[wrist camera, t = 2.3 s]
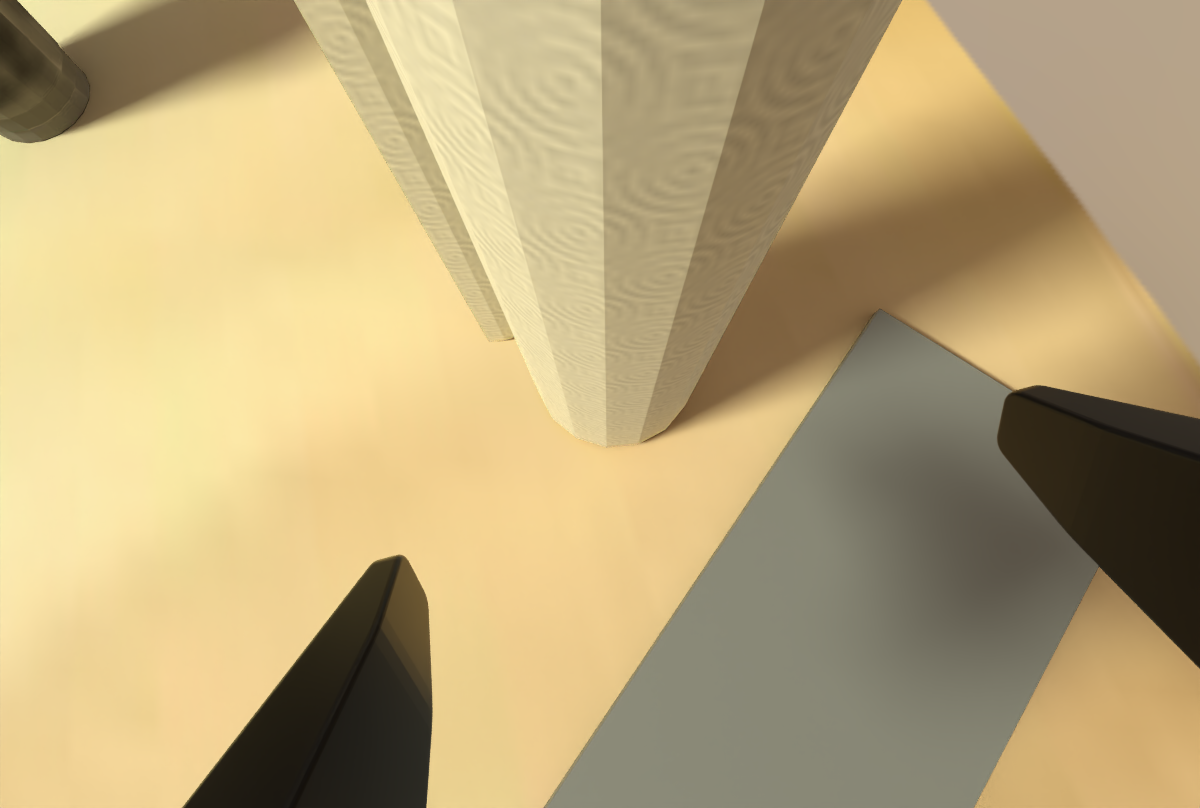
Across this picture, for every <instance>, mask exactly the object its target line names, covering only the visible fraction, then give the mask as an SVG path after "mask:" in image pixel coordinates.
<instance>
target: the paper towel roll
mask: <svg viewBox="0 0 1200 808" xmlns="http://www.w3.org/2000/svg"><path fill="white" fill-rule="evenodd" d="M901 1H902V0H294V2H295V4H296V6H297V7H298V9H299V11H300V13H301V14H302V16H303V18H304V20H305V21H306V23H307V25H308V27H309V28H310V30H311V32H312V34H313V35H314V37H315V39H316V41H317V42H318V44H319V46H320V48H321V49H322V51H323V53H324V54H325V56H326V58H327V60H328V61H329V63H330V65H331V67H332V68H333V70H334V72H335V74H336V75H337V77H338V79H339V81H340V82H341V84H342V86H343V88H344V89H345V91H346V93H347V95H348V96H349V98H350V100H351V102H352V103H353V105H354V107H355V109H356V110H357V112H358V114H359V116H360V117H361V119H362V121H363V123H364V124H365V126H366V128H367V130H368V131H369V133H370V135H371V137H372V138H373V140H374V142H375V144H376V145H377V147H378V149H379V151H380V152H381V154H382V156H383V158H384V159H385V161H386V163H387V165H388V166H389V168H390V170H391V172H392V173H393V175H394V177H395V179H396V180H397V182H398V184H399V185H400V187H401V189H402V191H403V192H404V194H405V196H406V198H407V199H408V201H409V203H410V205H411V206H412V208H413V210H414V212H415V213H416V215H417V217H418V219H419V220H420V222H421V224H422V226H423V227H424V229H425V231H426V233H427V234H428V236H429V238H430V240H431V241H432V243H433V245H434V247H435V248H436V250H437V252H438V254H439V255H440V257H441V259H442V261H443V262H444V264H445V266H446V268H447V269H448V271H449V273H450V275H451V276H452V278H453V280H454V282H455V283H456V285H457V287H458V289H459V290H460V292H461V294H462V296H463V297H464V299H465V301H466V303H467V304H468V306H469V308H470V310H471V311H472V313H473V315H474V316H475V318H476V320H477V322H478V323H479V325H480V327H481V329H482V330H483V332H484V334H485V336H486V337H487V339H488V341H503V340H508V339H511V338H513V337H514V338H515V340H516V342H517V344H518V347H519V349H520V351H521V354H522V356H523V358H524V360H525V363H526V365H527V367H528V369H529V372H530V374H531V376H532V378H533V381H534V383H535V385H536V388H537V390H538V392H539V394H540V396H541V398H542V400H543V402H544V404H545V405H546V407H547V409H548V411H549V413H550V415H551V417H552V419H553V420H555V421H556V422H557V423H558V424H560V425H561V426H562V427H563V428H564V429H566V430H567V431H568V432H569V433H571V434H572V435H573V436H574V437H575V438H577V439H581V440H584V441H587V442H591V443H594V444H597V445H601V446H604V447H615V446H625V445H635V444H639V443H641V442H643V441H645V440H647V439H649V438H651V437H653V436H654V435H656V434H658V433H660V432H662V431H664V430H666V429H667V427H668V426H669V425H670V424H671V422H672V421H673V420H674V419H675V417H676V416H677V415H678V414H679V413H680V411H681V410H682V409H683V408H684V406H685V405H686V403H687V401H688V399H689V397H690V395H691V394H692V392H693V390H694V388H695V386H696V384H697V382H698V380H699V379H700V377H701V375H702V373H703V371H704V369H705V367H706V366H707V364H708V362H709V360H710V358H711V356H712V354H713V352H714V351H715V349H716V347H717V345H718V343H719V341H720V339H721V338H722V336H723V334H724V332H725V330H726V328H727V326H728V324H729V323H730V321H731V319H732V317H733V315H734V313H735V311H736V310H737V308H738V306H739V304H740V302H741V300H742V298H743V296H744V295H745V293H746V291H747V289H748V287H749V285H750V283H751V282H752V280H753V278H754V276H755V274H756V272H757V270H758V268H759V267H760V265H761V263H762V261H763V259H764V257H765V255H766V253H767V252H768V250H769V248H770V246H771V244H772V242H773V240H774V239H775V237H776V235H777V233H778V231H779V229H780V227H781V225H782V224H783V222H784V220H785V218H786V216H787V214H788V212H789V211H790V209H791V207H792V205H793V203H794V201H795V199H796V197H797V196H798V194H799V192H800V190H801V188H802V186H803V184H804V183H805V181H806V179H807V177H808V175H809V173H810V171H811V169H812V168H813V166H814V164H815V162H816V160H817V158H818V156H819V155H820V153H821V151H822V149H823V147H824V145H825V143H826V141H827V140H828V138H829V136H830V134H831V132H832V130H833V128H834V127H835V125H836V123H837V121H838V119H839V117H840V115H841V113H842V112H843V110H844V108H845V106H846V104H847V102H848V100H849V98H850V97H851V95H852V93H853V91H854V89H855V87H856V85H857V84H858V82H859V80H860V78H861V76H862V74H863V72H864V70H865V69H866V67H867V65H868V63H869V61H870V59H871V57H872V56H873V54H874V52H875V50H876V48H877V46H878V44H879V42H880V41H881V39H882V37H883V35H884V33H885V31H886V29H887V28H888V26H889V24H890V22H891V20H892V18H893V16H894V14H895V13H896V11H897V9H898V7H899V5H900V3H901Z"/></svg>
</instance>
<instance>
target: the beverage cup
mask: <svg viewBox="0 0 1200 808" xmlns="http://www.w3.org/2000/svg"><path fill="white" fill-rule="evenodd" d="M88 100H89V83H88V81H87V78H86V75H85V74H84V73H83V72H82V71H81V70H80V69H79V68H78V67H77V66H76V65H75V64H74V63H73V62H72V60H71V59H70V58H69V57H68V56H67V55H66V54H65V53H64V52H63V50H62V49H61V48H60V47H59V45H58V43H57V42H56V41H55V40H54V39H53V38H52V37H51V36H50V35H49V34H48V33H47V31H46V30H45V29H44V28H43V27H42V26H41V25H40V24H39V23H38V22H37V21H36V20H35V19H34V18H33V17H32V16H31V15H30V14H29V13H28V11H27V10H26V9H25V8H24V7H23V6H22V5H21V4H20V3H19V2H18V1H17V0H0V135H2V136H4V137H6V138H8V139H10V140H12V141H17V142H25V143H31V142H37V141H44V140H47V139H49V138H51V137H54V136H56V135H59V134H61V133H62V132H63V131H65V130H66V129H67V128H69V127H70V126H72V125H73V124H74V123H75V121H76V120H77V119H78V118H79V117H80V115H81V114H82V113H83V111H84V109H85V107H86V104H87V102H88Z"/></svg>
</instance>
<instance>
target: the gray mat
mask: <svg viewBox="0 0 1200 808" xmlns="http://www.w3.org/2000/svg"><path fill="white" fill-rule="evenodd" d="M1011 392H1013V391H1011V390H1010V389H1008V388H1007V387H1005V386H1003V385H1002V384H1000V383H999V382H997V381H995V380H994V379H992V378H991V377H989V376H987V375H986V374H984V373H982V372H981V371H979V370H978V369H976V368H974V367H973V366H971V365H970V364H968V363H966V362H965V361H963V360H962V359H960V358H958V357H957V356H955V355H954V354H952V353H950V352H949V351H947V350H946V349H944V348H942V347H941V346H939V345H938V344H936V343H934V342H933V341H931V340H929V339H928V338H926V337H925V336H923V335H921V334H920V333H918V332H917V331H915V330H913V329H912V328H910V327H909V326H907V325H905V324H904V323H902V322H901V321H899V320H897V319H896V318H894V317H893V316H891V315H889V314H888V313H886V312H885V311H883V310H881V309H879V310H878V311H877V312H876V313H874V315H873V316H872V318H871V319H870V321H869V322H868V324H867V325H866V327H865V328H864V330H863V331H862V333H861V334H860V336H859V337H858V339H857V340H856V342H855V343H854V345H853V346H852V348H851V349H850V351H849V352H848V354H847V355H846V357H845V358H844V360H843V361H842V363H841V364H840V366H839V367H838V369H837V370H836V372H835V373H834V375H833V376H832V378H831V379H830V381H829V382H828V384H827V385H826V387H825V388H824V389H823V391H822V392H821V394H820V395H819V397H818V398H817V400H816V401H815V403H814V404H813V406H812V407H811V409H810V410H809V412H808V413H807V415H806V416H805V418H804V419H803V421H802V422H801V424H800V425H799V427H798V428H797V430H796V431H795V433H794V434H793V436H792V437H791V439H790V440H789V442H788V443H787V445H786V446H785V448H784V449H783V451H782V452H781V454H780V455H779V457H778V458H777V460H776V461H775V463H774V464H773V466H772V467H771V469H770V470H769V472H768V473H767V475H766V476H765V478H764V479H763V481H762V482H761V484H760V485H759V487H758V488H757V490H756V491H755V493H754V494H753V496H752V497H751V499H750V500H749V502H748V503H747V505H746V506H745V508H744V509H743V511H742V512H741V514H740V515H739V517H738V518H737V520H736V521H735V523H734V524H733V526H732V527H731V529H730V530H729V531H728V533H727V534H726V536H725V537H724V539H723V540H722V542H721V543H720V545H719V546H718V548H717V549H716V551H715V552H714V554H713V555H712V557H711V558H710V560H709V561H708V563H707V564H706V566H705V567H704V569H703V570H702V572H701V573H700V575H699V576H698V578H697V579H696V581H695V582H694V584H693V585H692V587H691V588H690V590H689V591H688V593H687V594H686V596H685V597H684V599H683V600H682V602H681V603H680V605H679V606H678V608H677V609H676V611H675V612H674V614H673V615H672V617H671V618H670V620H669V621H668V623H667V624H666V626H665V627H664V629H663V630H662V632H661V633H660V635H659V636H658V638H657V639H656V641H655V642H654V644H653V645H652V647H651V648H650V650H649V651H648V653H647V654H646V656H645V657H644V659H643V660H642V662H641V663H640V665H639V666H638V668H637V669H636V671H635V672H634V674H633V675H632V676H631V678H630V679H629V681H628V682H627V684H626V685H625V687H624V688H623V690H622V691H621V693H620V694H619V696H618V697H617V699H616V700H615V702H614V703H613V705H612V706H611V708H610V709H609V711H608V712H607V714H606V715H605V717H604V718H603V720H602V721H601V723H600V724H599V726H598V727H597V729H596V730H595V732H594V733H593V735H592V736H591V738H590V739H589V741H588V742H587V744H586V745H585V747H584V748H583V750H582V751H581V753H580V754H579V756H578V757H577V759H576V760H575V762H574V763H573V765H572V766H571V768H570V769H569V771H568V772H567V774H566V775H565V777H564V778H563V780H562V781H561V783H560V784H559V786H558V787H557V789H556V790H555V792H554V793H553V795H552V796H551V798H550V799H549V801H548V802H547V804H546V805H545V807H544V808H974V806H975V804H976V802H977V801H978V799H979V797H980V795H981V793H982V791H983V789H984V787H985V785H986V783H987V781H988V779H989V777H990V775H991V774H992V772H993V770H994V768H995V766H996V764H997V762H998V760H999V758H1000V756H1001V754H1002V752H1003V750H1004V748H1005V747H1006V745H1007V743H1008V741H1009V739H1010V737H1011V735H1012V733H1013V731H1014V729H1015V727H1016V725H1017V723H1018V721H1019V720H1020V718H1021V716H1022V714H1023V712H1024V710H1025V708H1026V706H1027V704H1028V702H1029V700H1030V698H1031V696H1032V694H1033V693H1034V691H1035V689H1036V687H1037V685H1038V683H1039V681H1040V679H1041V677H1042V675H1043V673H1044V671H1045V669H1046V667H1047V665H1048V664H1049V662H1050V660H1051V658H1052V656H1053V654H1054V652H1055V650H1056V648H1057V646H1058V644H1059V642H1060V640H1061V638H1062V637H1063V635H1064V633H1065V631H1066V629H1067V627H1068V625H1069V623H1070V621H1071V619H1072V617H1073V615H1074V613H1075V611H1076V610H1077V608H1078V606H1079V604H1080V602H1081V600H1082V598H1083V596H1084V594H1085V592H1086V590H1087V588H1088V586H1089V584H1090V583H1091V581H1092V579H1093V577H1094V575H1095V573H1096V571H1097V569H1098V567H1099V566H1098V565H1097V564H1096V563H1095V562H1094V561H1093V560H1092V559H1091V558H1090V557H1089V556H1088V555H1087V554H1086V553H1085V552H1084V551H1083V550H1082V549H1081V547H1080V546H1079V545H1078V544H1077V543H1076V542H1075V541H1074V540H1073V539H1072V538H1071V537H1070V536H1069V535H1068V534H1067V532H1066V531H1065V530H1064V529H1063V528H1062V527H1061V525H1060V524H1059V523H1058V522H1057V521H1056V519H1055V518H1054V517H1053V516H1052V514H1051V513H1050V512H1049V511H1048V510H1047V508H1046V507H1045V506H1044V505H1043V503H1042V502H1041V501H1040V500H1039V498H1038V497H1037V496H1036V495H1035V494H1034V492H1033V491H1032V490H1031V489H1030V487H1029V486H1028V485H1027V484H1026V482H1025V481H1024V480H1023V479H1022V478H1021V476H1020V475H1019V474H1018V473H1017V471H1016V470H1015V469H1014V468H1013V466H1012V465H1011V464H1010V463H1009V462H1008V460H1007V459H1006V458H1005V457H1004V455H1003V454H1002V453H1001V451H1000V449H999V447H998V443H997V433H998V428H999V423H1000V418H1001V413H1002V409H1003V404H1004V400H1005V398H1006V397H1007V395H1008V394H1009V393H1011Z"/></svg>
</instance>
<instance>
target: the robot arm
mask: <svg viewBox="0 0 1200 808" xmlns="http://www.w3.org/2000/svg"><path fill="white" fill-rule="evenodd" d="M997 443H998V447H999V449H1000V451H1001V453H1002V454H1003V455H1004V457H1005V458H1006V459H1007V460H1008V462H1009V463H1010V464H1011V465H1012V466H1013V468H1014V469H1015V470H1016V471H1017V473H1018V474H1019V475H1020V476H1021V478H1022V479H1023V480H1024V481H1025V482H1026V484H1027V485H1028V486H1029V487H1030V489H1031V490H1032V491H1033V492H1034V494H1035V495H1036V496H1037V497H1038V498H1039V500H1040V501H1041V502H1042V503H1043V505H1044V506H1045V507H1046V508H1047V510H1048V511H1049V512H1050V513H1051V514H1052V516H1053V517H1054V518H1055V519H1056V521H1057V522H1058V523H1059V524H1060V525H1061V527H1062V528H1063V529H1064V530H1065V531H1066V532H1067V534H1068V535H1069V536H1070V537H1071V538H1072V539H1073V540H1074V541H1075V542H1076V543H1077V544H1078V545H1079V546H1080V547H1081V549H1082V550H1083V551H1084V552H1085V553H1086V554H1087V555H1088V556H1089V557H1090V558H1091V559H1092V560H1093V561H1094V562H1095V563H1096V564H1097V565H1098V566H1099V567H1100V568H1101V569H1102V570H1103V571H1104V572H1105V573H1106V574H1107V575H1108V576H1109V577H1110V578H1111V579H1112V580H1113V581H1114V582H1115V583H1116V584H1117V585H1118V586H1119V587H1120V588H1121V589H1122V590H1123V591H1124V592H1125V593H1126V594H1127V595H1128V596H1129V597H1130V598H1131V599H1132V600H1133V601H1134V602H1135V603H1136V604H1137V606H1138V607H1139V608H1140V609H1141V610H1142V611H1143V612H1144V613H1145V614H1146V615H1147V616H1148V617H1149V618H1150V619H1151V620H1152V621H1153V622H1154V623H1155V624H1156V625H1157V626H1158V627H1159V628H1160V629H1161V630H1162V631H1163V632H1164V633H1165V634H1166V635H1167V636H1168V637H1169V638H1170V639H1171V640H1172V641H1173V642H1174V643H1175V644H1176V645H1177V646H1178V647H1179V648H1180V649H1181V650H1182V651H1183V652H1184V653H1185V654H1186V655H1187V656H1188V657H1189V658H1190V659H1191V660H1192V661H1193V662H1194V663H1195V664H1196V666H1197V667H1198V668H1199V669H1200V419H1198V418H1193V417H1188V416H1184V415H1179V414H1174V413H1169V412H1165V411H1160V410H1155V409H1150V408H1146V407H1141V406H1136V405H1132V404H1127V403H1122V402H1117V401H1113V400H1108V399H1103V398H1099V397H1094V396H1089V395H1084V394H1080V393H1075V392H1070V391H1066V390H1061V389H1056V388H1051V387H1047V386H1041V385H1036V386H1031V387H1027V388H1023V389H1019V390H1016V391H1013V392H1011V393H1009V394H1008V395H1007V397H1006V398H1005V400H1004V404H1003V409H1002V413H1001V418H1000V423H999V428H998V433H997ZM432 713H433V712H432V679H431V656H430V632H429V609H428V602H427V597H426V594H425V592H424V590H423V588H422V586H421V584H420V582H419V580H418V578H417V576H416V574H415V572H414V571H413V569H412V567H411V565H410V563H409V561H408V560H407V558H406V557H405V556H403V555H395V556H392V557H388V558H384V559H380V560H377V561H375V562H373V563H372V564H371V565H370V566H369V568H368V569H367V570H366V571H365V573H364V574H363V575H362V577H361V578H360V579H359V580H358V582H357V583H356V584H355V586H354V587H353V588H352V589H351V591H350V592H349V593H348V595H347V596H346V597H345V598H344V600H343V601H342V602H341V604H340V605H339V606H338V608H337V609H336V610H335V611H334V613H333V614H332V615H331V617H330V618H329V619H328V620H327V622H326V623H325V624H324V626H323V627H322V628H321V629H320V631H319V632H318V633H317V635H316V636H315V637H314V638H313V640H312V641H311V642H310V644H309V645H308V646H307V647H306V649H305V650H304V651H303V653H302V654H301V655H300V657H299V658H298V659H297V660H296V662H295V663H294V664H293V666H292V667H291V668H290V669H289V671H288V672H287V673H286V675H285V676H284V677H283V678H282V680H281V681H280V682H279V684H278V685H277V686H276V687H275V689H274V690H273V691H272V693H271V694H270V695H269V696H268V698H267V699H266V700H265V702H264V703H263V704H262V705H261V707H260V708H259V709H258V711H257V712H256V713H255V715H254V716H253V717H252V718H251V720H250V721H249V722H248V724H247V725H246V726H245V727H244V729H243V730H242V731H241V733H240V734H239V735H238V736H237V738H236V739H235V740H234V742H233V743H232V744H231V745H230V747H229V748H228V749H227V751H226V752H225V753H224V754H223V756H222V757H221V758H220V760H219V761H218V762H217V764H216V765H215V766H214V767H213V769H212V770H211V771H210V773H209V774H208V775H207V776H206V778H205V779H204V780H203V782H202V783H201V784H200V785H199V787H198V788H197V789H196V791H195V792H194V793H193V794H192V796H191V797H190V798H189V800H188V801H187V802H186V803H185V805H184V806H183V807H182V808H426V804H427V790H428V776H429V762H430V748H431V734H432Z"/></svg>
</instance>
